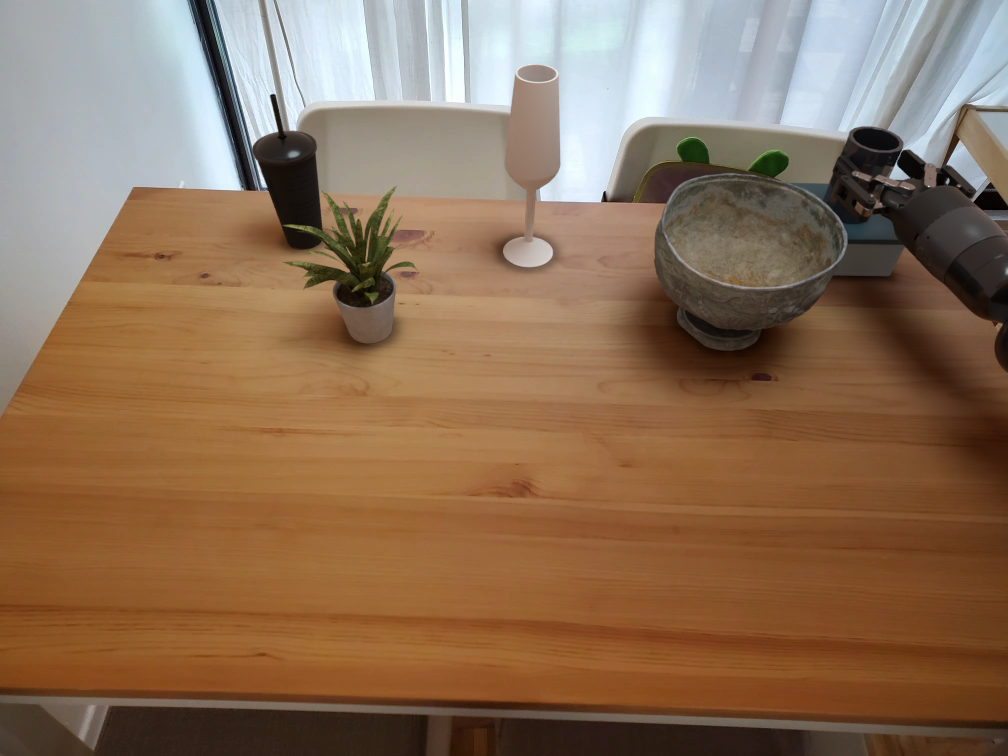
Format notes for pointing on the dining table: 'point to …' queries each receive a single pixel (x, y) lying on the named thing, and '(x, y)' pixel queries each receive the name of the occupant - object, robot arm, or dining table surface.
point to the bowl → (744, 255)
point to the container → (865, 243)
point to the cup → (866, 162)
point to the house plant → (358, 272)
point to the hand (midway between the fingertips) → (870, 159)
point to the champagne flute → (533, 152)
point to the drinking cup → (291, 180)
